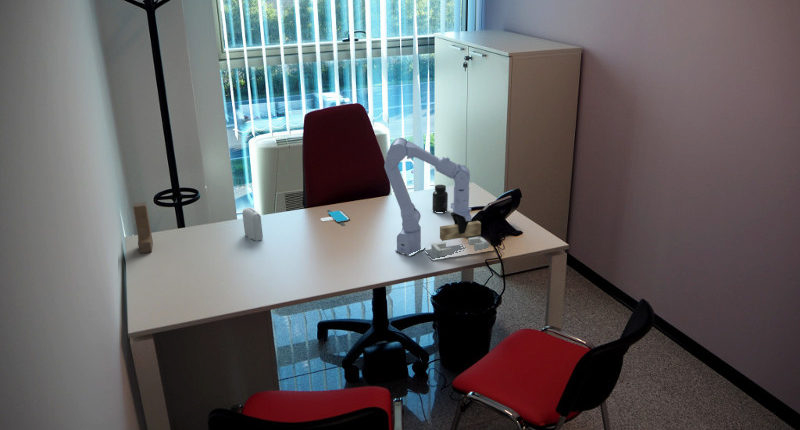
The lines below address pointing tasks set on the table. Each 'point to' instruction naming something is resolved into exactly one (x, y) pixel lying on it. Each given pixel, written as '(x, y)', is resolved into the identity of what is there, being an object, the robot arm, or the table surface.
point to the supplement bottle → (440, 199)
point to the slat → (453, 232)
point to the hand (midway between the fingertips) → (460, 231)
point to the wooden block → (143, 228)
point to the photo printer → (252, 224)
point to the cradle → (455, 247)
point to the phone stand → (336, 217)
